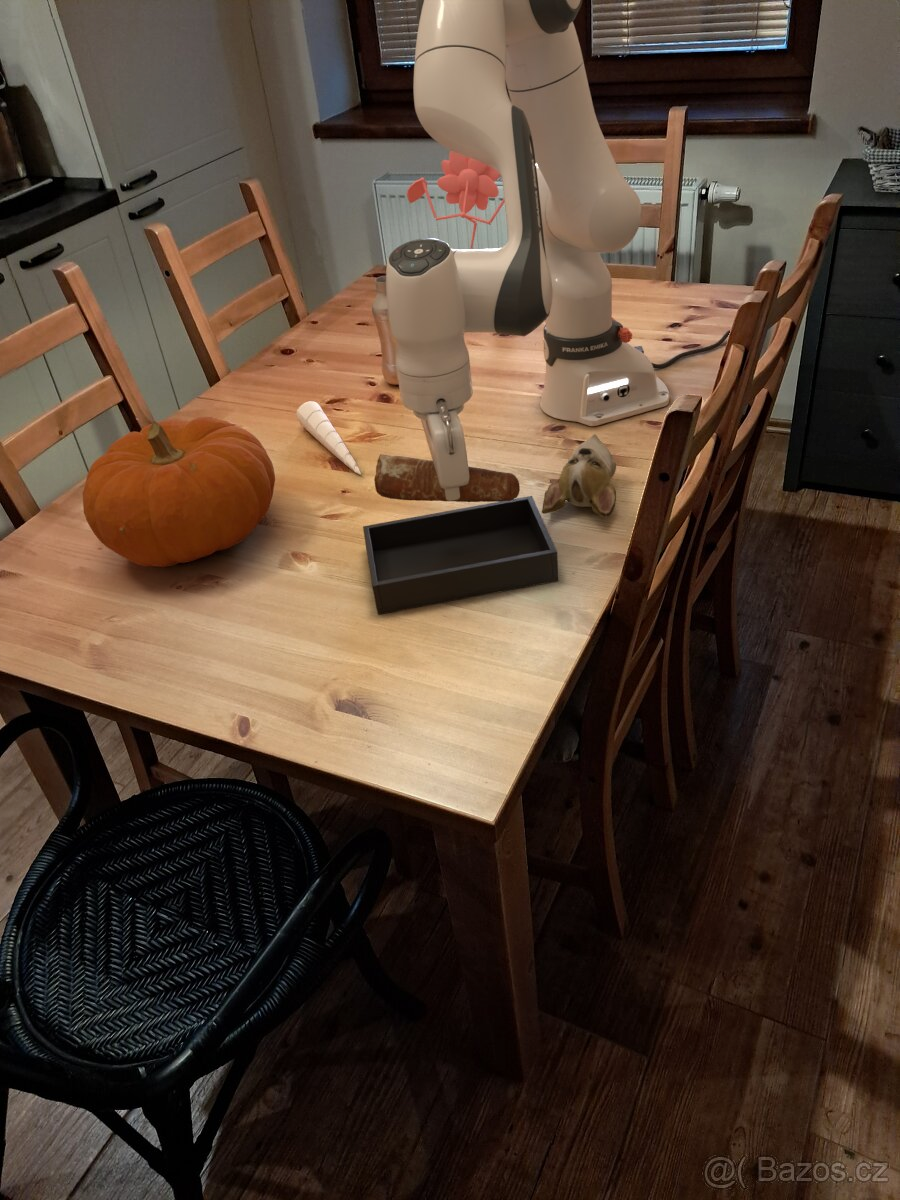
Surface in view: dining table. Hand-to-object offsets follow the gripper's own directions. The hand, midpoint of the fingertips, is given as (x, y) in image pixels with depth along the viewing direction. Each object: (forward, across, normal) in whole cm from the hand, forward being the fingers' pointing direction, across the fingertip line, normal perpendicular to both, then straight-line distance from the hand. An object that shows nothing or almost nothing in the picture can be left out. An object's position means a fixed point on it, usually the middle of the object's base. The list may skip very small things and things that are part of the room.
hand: (447, 482), depth 118 cm
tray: (+14, 0, 0) cm, 14 cm away
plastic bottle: (+14, +64, +1) cm, 65 cm away
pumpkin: (+14, +20, +38) cm, 45 cm away
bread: (+2, 0, 0) cm, 3 cm away
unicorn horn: (+14, +42, +15) cm, 47 cm away
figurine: (+14, +88, -20) cm, 91 cm away
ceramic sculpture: (+14, +11, -21) cm, 27 cm away
